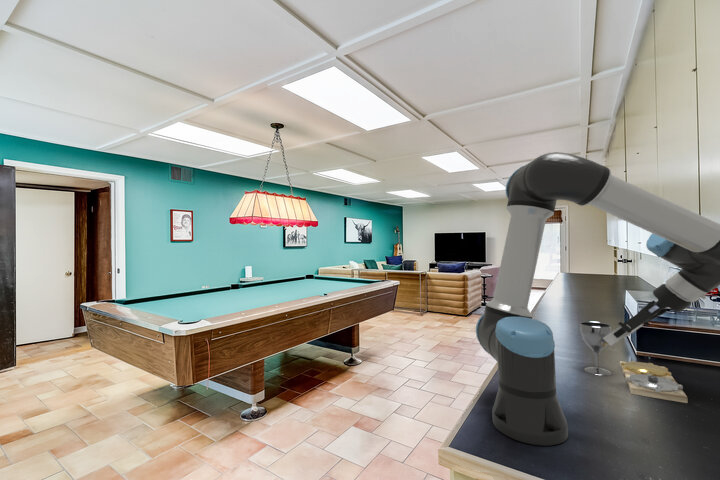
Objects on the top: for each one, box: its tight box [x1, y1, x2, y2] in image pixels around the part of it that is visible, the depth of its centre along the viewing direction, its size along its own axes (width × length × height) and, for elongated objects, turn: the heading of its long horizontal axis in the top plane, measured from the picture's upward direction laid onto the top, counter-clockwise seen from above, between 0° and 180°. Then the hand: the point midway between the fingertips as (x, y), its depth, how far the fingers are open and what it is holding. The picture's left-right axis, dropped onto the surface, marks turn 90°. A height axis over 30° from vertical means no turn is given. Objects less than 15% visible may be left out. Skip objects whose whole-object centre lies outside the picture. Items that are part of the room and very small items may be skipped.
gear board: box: [619, 360, 689, 404], centre depth 94 cm, size 24×12×4 cm, turn 147°
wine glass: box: [579, 321, 612, 377], centre depth 103 cm, size 8×8×15 cm
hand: (614, 337), depth 100 cm, fingers open, 13 cm apart
